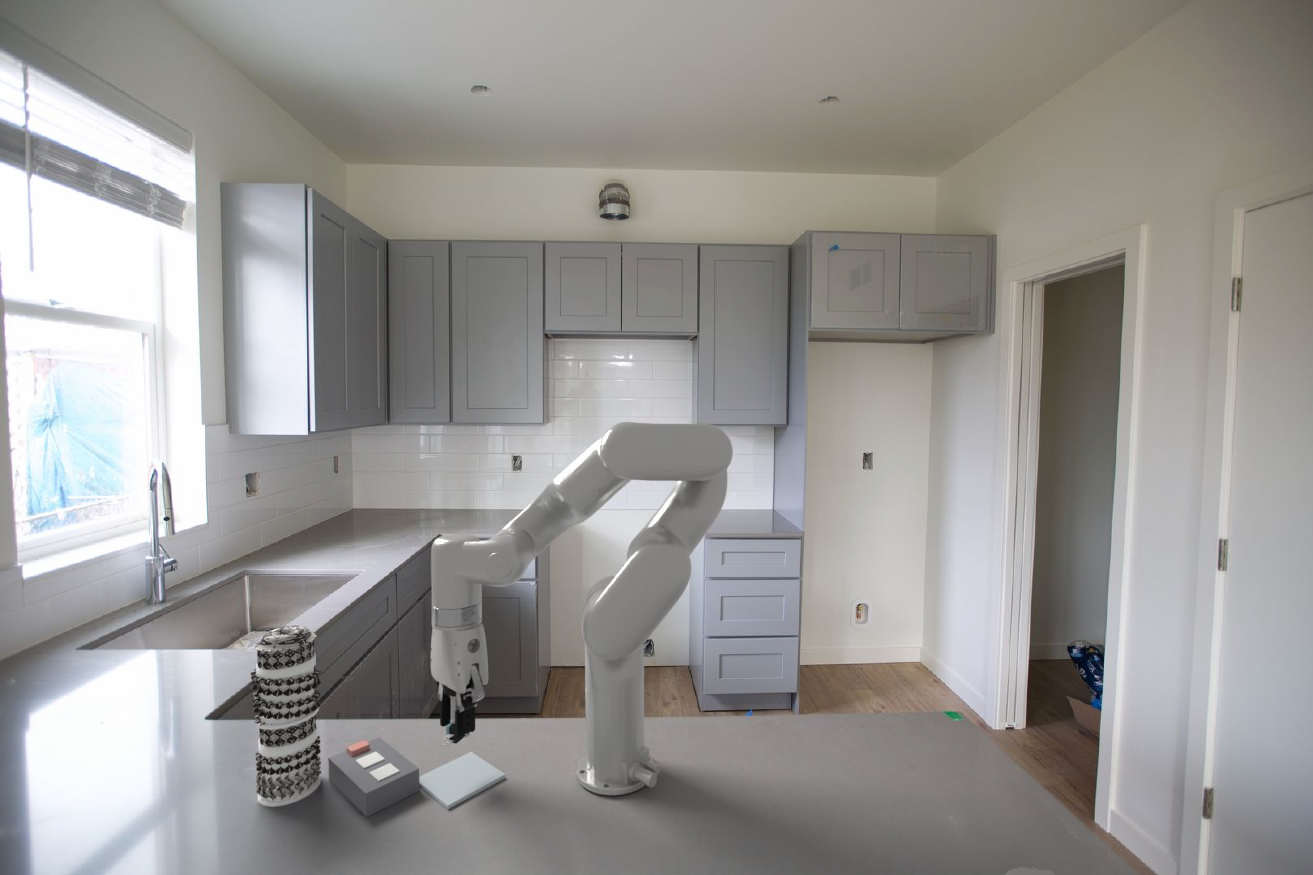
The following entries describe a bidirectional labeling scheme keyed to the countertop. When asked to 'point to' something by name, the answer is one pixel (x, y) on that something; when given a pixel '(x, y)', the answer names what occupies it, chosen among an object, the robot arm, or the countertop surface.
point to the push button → (453, 717)
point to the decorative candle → (286, 716)
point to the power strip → (373, 775)
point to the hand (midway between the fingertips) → (457, 726)
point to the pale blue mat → (459, 779)
